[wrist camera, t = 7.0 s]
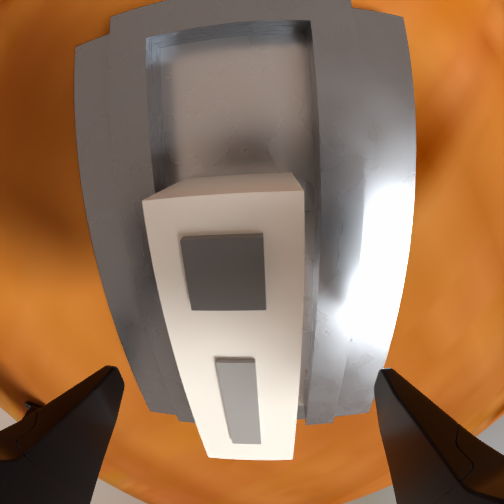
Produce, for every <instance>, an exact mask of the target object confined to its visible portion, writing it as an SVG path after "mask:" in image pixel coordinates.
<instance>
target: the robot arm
mask: <svg viewBox="0 0 504 504" xmlns="http://www.w3.org/2000/svg"><path fill="white" fill-rule="evenodd" d="M123 391H124V381H123V379H122V377H121V374H120V372H119V370H118V368H117V367H115V366H109V365H107V366H104V367H103V368H101V369H100V370H98V371H97V372H95V373H94V374H92V375H91V376H89V377H88V378H86V379H85V380H83V381H82V382H80V383H79V384H77V385H76V386H74V387H72V388H71V389H69V390H68V391H66V392H65V393H63V394H62V395H60V396H59V397H57V398H56V399H54V400H52V401H51V402H49V403H48V404H46V405H45V406H43V407H39V406H37V405H34V404H32V403H30V402H27V401H26V402H25V403H24V405H25V406H26V408H27V409H28V411H27V413H26V414H25V416H24V417H23V419H22V420H21V421H19V422H17V423H15V424H13V425H11V426H9V427H7V428H5V429H3V430H1V431H0V504H90V502H91V498H92V495H93V492H94V488H95V485H96V481H97V478H98V475H99V472H100V469H101V465H102V462H103V459H104V456H105V453H106V450H107V447H108V444H109V441H110V438H111V435H112V432H113V429H114V427H115V423H116V420H117V416H118V412H119V408H120V404H121V399H122V395H123ZM374 395H375V401H376V408H377V415H378V422H379V428H380V433H381V437H382V441H383V445H384V449H385V453H386V457H387V461H388V465H389V469H390V474H391V478H392V483H393V488H394V492H395V497H396V502H397V504H504V455H502V454H501V453H499V452H497V451H496V450H494V449H493V448H491V447H490V446H488V445H486V444H485V443H484V442H482V441H481V440H479V439H478V438H476V437H475V436H474V435H472V434H471V433H470V432H468V431H467V430H466V429H465V428H463V427H462V426H461V425H460V424H458V423H457V422H456V421H455V420H454V419H453V418H451V417H450V416H449V415H448V414H446V413H445V412H444V411H443V410H442V409H440V408H439V407H438V406H437V405H436V404H434V403H433V402H432V401H431V400H430V399H428V398H427V397H426V396H425V395H424V394H422V393H421V392H420V391H419V390H418V389H416V388H415V387H414V386H413V385H412V384H410V383H409V382H408V381H407V380H406V379H404V378H403V377H402V376H401V375H400V374H398V373H397V372H396V371H395V370H394V369H392V368H384V369H380V370H379V372H378V375H377V378H376V381H375V385H374Z"/></svg>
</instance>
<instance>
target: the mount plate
mask: <svg viewBox="0 0 504 504" xmlns="http://www.w3.org/2000/svg"><path fill="white" fill-rule="evenodd" d="M74 105H75V127H76V141H77V152H78V162H79V170H80V178H81V185H82V192H83V198H84V204H85V210H86V216H87V221H88V226H89V231H90V236H91V240H92V245H93V249H94V253H95V258H96V262H97V266H98V270H99V273H100V277H101V281H102V284H103V288H104V291H105V295H106V298H107V301H108V305H109V308H110V311H111V314H112V317H113V320H114V323H115V326H116V329H117V332H118V335H119V338H120V341H121V343H122V346H123V349H124V351H125V354H126V357H127V359H128V362H129V364H130V367H131V369H132V372H133V374H134V376H135V379H136V381H137V383H138V386H139V388H140V390H141V393H142V395H143V397H144V399H145V401H146V404H147V406H148V408H149V410H150V411H152V412H158V413H165V414H173V415H177V417H178V420H179V421H183V422H193V423H196V422H195V420H194V417H193V414H192V411H191V408H190V405H189V402H188V399H187V396H186V393H185V390H184V386H183V383H182V380H181V377H180V373H179V370H178V367H177V363H176V360H175V356H174V353H173V349H172V345H171V342H170V338H169V334H168V330H167V326H166V322H165V318H164V314H163V310H162V306H161V301H160V297H159V292H158V288H157V283H156V279H155V274H154V269H153V264H152V259H151V253H150V248H149V242H148V237H147V231H146V225H145V218H144V212H143V205H142V200H144V199H146V198H148V197H150V196H152V195H154V194H156V193H158V192H160V191H161V190H163V189H165V188H167V187H169V186H171V185H173V184H175V183H177V182H179V181H181V180H184V179H189V178H200V177H212V176H226V175H242V174H263V173H293V175H294V176H295V178H296V179H297V181H298V182H299V184H300V185H301V187H302V188H303V190H304V215H305V251H304V302H303V329H302V350H301V367H300V382H299V396H298V408H297V419H305V425H311V424H324V423H333V420H334V417H335V416H344V415H353V414H360V413H367V412H369V410H370V407H371V405H372V402H373V399H374V396H375V395H374V385H375V381H376V378H377V375H378V372H379V370H380V369H383V368H384V365H385V361H386V358H387V354H388V350H389V347H390V343H391V339H392V335H393V331H394V327H395V323H396V318H397V314H398V309H399V305H400V300H401V295H402V290H403V284H404V279H405V273H406V267H407V260H408V253H409V246H410V238H411V229H412V219H413V208H414V194H415V174H416V122H415V102H414V89H413V78H412V69H411V61H410V54H409V47H408V41H407V35H406V29H405V24H404V19H403V17H400V16H396V15H391V14H386V13H381V12H376V11H370V10H364V9H357V8H352V5H351V0H166V1H162V2H158V3H154V4H150V5H147V6H143V7H140V8H136V9H133V10H130V11H127V12H124V13H121V14H118V15H115V16H112V17H111V20H110V34H108V35H105V36H102V37H99V38H97V39H94V40H92V41H89V42H87V43H84V44H82V45H79V46H77V47H75V69H74Z"/></svg>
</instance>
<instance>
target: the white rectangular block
mask: <svg viewBox="0 0 504 504" xmlns="http://www.w3.org/2000/svg"><path fill="white" fill-rule="evenodd" d="M142 205H143V212H144V218H145V225H146V231H147V237H148V242H149V248H150V253H151V259H152V264H153V269H154V274H155V279H156V283H157V288H158V292H159V297H160V301H161V306H162V310H163V314H164V318H165V322H166V326H167V330H168V334H169V338H170V342H171V345H172V349H173V353H174V356H175V360H176V363H177V367H178V370H179V373H180V377H181V380H182V383H183V386H184V390H185V393H186V396H187V399H188V402H189V405H190V408H191V411H192V414H193V417H194V420H195V422H196V425H197V428H198V431H199V434H200V436H201V439H202V442H203V444H204V447H205V449H206V452H207V455H208V457H211V458H223V459H241V460H292V459H293V450H294V441H295V431H296V420H297V408H298V396H299V382H300V367H301V350H302V329H303V302H304V251H305V215H304V190H303V188H302V187H301V185H300V184H299V182H298V181H297V179H296V178H295V176H294V175H293V173H263V174H242V175H226V176H212V177H200V178H189V179H184V180H181V181H179V182H177V183H175V184H173V185H171V186H169V187H167V188H165V189H163V190H161V191H160V192H158V193H156V194H154V195H152V196H150V197H148V198H146V199H144V200H142Z"/></svg>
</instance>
